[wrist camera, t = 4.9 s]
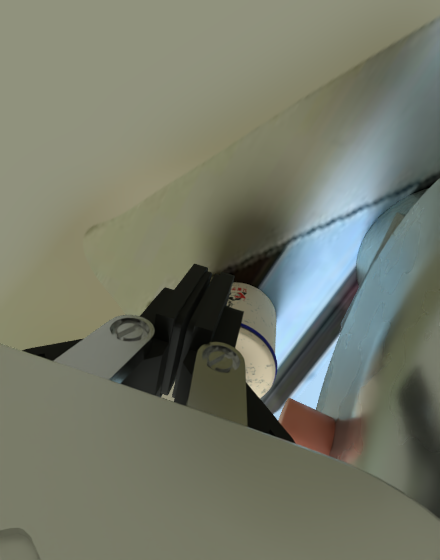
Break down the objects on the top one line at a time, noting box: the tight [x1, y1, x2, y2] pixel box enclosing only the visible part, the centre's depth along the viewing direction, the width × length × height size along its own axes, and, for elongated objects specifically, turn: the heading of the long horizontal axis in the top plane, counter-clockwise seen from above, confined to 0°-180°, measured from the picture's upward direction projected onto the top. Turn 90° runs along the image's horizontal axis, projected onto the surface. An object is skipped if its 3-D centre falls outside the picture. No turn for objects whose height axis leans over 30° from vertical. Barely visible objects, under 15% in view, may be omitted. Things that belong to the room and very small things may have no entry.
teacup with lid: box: [227, 282, 277, 398], centre depth 29 cm, size 12×9×12 cm
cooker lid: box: [278, 178, 440, 519], centre depth 11 cm, size 16×15×3 cm
